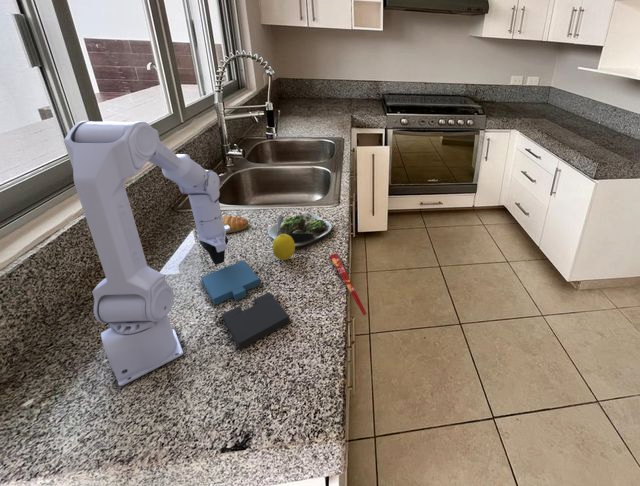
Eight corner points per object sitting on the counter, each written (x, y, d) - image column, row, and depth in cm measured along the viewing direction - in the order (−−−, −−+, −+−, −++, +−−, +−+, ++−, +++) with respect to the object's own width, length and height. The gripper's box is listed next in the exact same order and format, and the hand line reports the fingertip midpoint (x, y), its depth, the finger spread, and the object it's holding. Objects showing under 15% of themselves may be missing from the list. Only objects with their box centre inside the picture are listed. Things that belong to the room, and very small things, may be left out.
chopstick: (362, 317, 74) (362, 314, 74) (329, 258, 93) (329, 255, 93) (370, 314, 75) (370, 310, 75) (337, 255, 94) (336, 253, 94)
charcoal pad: (240, 350, 66) (238, 343, 65) (223, 320, 73) (221, 314, 72) (289, 322, 73) (288, 316, 72) (270, 297, 79) (269, 291, 79)
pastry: (250, 221, 110) (248, 210, 109) (246, 232, 104) (244, 221, 103) (218, 224, 108) (216, 213, 107) (212, 236, 102) (209, 225, 100)
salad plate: (254, 230, 105) (251, 217, 103) (307, 211, 117) (305, 199, 116) (284, 258, 93) (281, 243, 91) (339, 233, 105) (338, 220, 103)
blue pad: (217, 309, 75) (215, 303, 75) (202, 283, 83) (200, 277, 83) (263, 288, 82) (262, 282, 81) (245, 265, 90) (244, 259, 89)
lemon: (289, 251, 96) (286, 226, 93) (300, 259, 93) (297, 234, 90) (270, 260, 92) (266, 234, 89) (281, 269, 89) (277, 242, 86)
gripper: (235, 222, 81) (245, 268, 86) (217, 201, 91) (226, 244, 96) (202, 232, 76) (214, 281, 82) (186, 209, 86) (197, 254, 91)
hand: (219, 262), depth 88 cm, fingers closed
